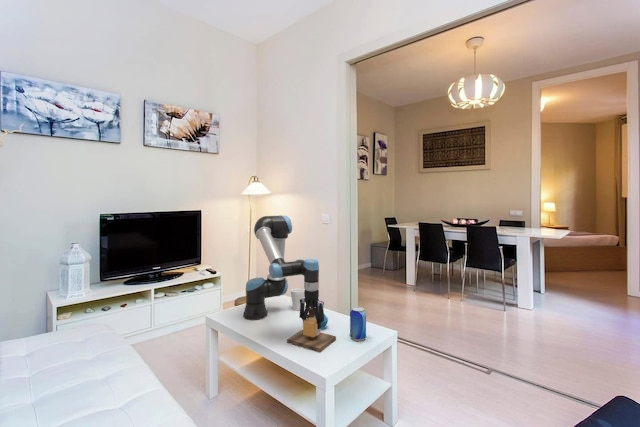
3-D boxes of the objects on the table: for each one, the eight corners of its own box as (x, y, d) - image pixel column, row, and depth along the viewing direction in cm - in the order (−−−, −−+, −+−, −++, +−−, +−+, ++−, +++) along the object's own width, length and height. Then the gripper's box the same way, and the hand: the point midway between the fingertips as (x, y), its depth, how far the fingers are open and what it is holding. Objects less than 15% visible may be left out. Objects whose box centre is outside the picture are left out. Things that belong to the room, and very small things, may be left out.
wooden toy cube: (303, 334, 160) (302, 321, 160) (309, 330, 166) (309, 317, 165) (313, 337, 157) (313, 323, 156) (320, 332, 162) (320, 319, 162)
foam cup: (288, 309, 209) (287, 290, 209) (296, 306, 217) (296, 287, 216) (298, 312, 204) (298, 293, 203) (307, 308, 211) (307, 289, 211)
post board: (286, 342, 160) (286, 325, 159) (304, 331, 173) (304, 315, 173) (319, 352, 149) (319, 334, 149) (335, 340, 163) (335, 323, 162)
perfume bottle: (308, 326, 180) (308, 301, 180) (321, 322, 186) (320, 298, 186) (319, 331, 173) (319, 305, 173) (331, 327, 179) (331, 301, 179)
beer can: (369, 338, 165) (369, 308, 165) (360, 343, 159) (360, 312, 158) (356, 333, 171) (356, 304, 170) (346, 338, 165) (346, 308, 164)
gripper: (292, 288, 162) (292, 331, 163) (323, 293, 152) (324, 340, 153) (300, 285, 169) (300, 327, 169) (331, 290, 158) (331, 334, 159)
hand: (311, 333), depth 161 cm, fingers closed on wooden toy cube, 6 cm apart
